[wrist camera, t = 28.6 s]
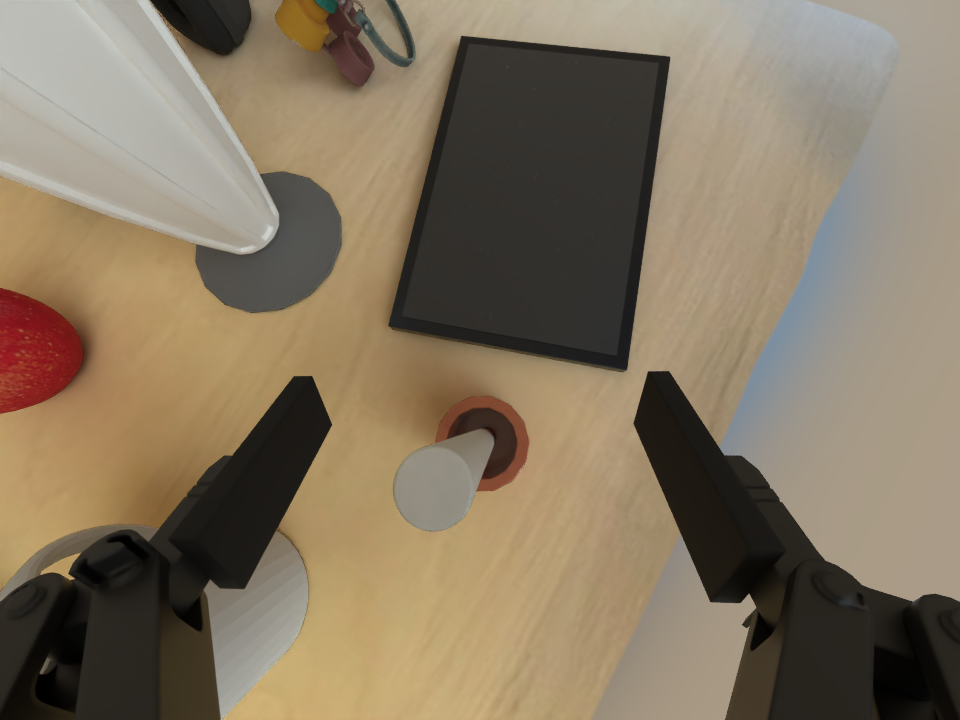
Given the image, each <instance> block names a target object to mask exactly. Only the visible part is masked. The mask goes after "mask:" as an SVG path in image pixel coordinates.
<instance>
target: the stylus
mask: <svg viewBox="0 0 960 720" xmlns="http://www.w3.org/2000/svg"><path fill="white" fill-rule="evenodd" d="M494 444H495V436H494V434H493V433H492V431H490V430H489V429H486V428H481V429H478V430H474V431H471V432H468V433H465V434H462V435H459V436H456V437H453V438H450V439H447V440H444V441H441V442H438V443H435V444H431V445H428V446H425V447H422V448H420V449H417V450H415V451H414V452H412V453H411V454H409V455H408V456H407V457H406V458H405V459H404V460H403V462H402V463H401V464H400V466H399V468H398V470H397V472H396V475H395V478H394V483H393V495H394V500H395V503H396V506H397V508H398V510H399V512H400V514H401V515H402V516H403V517H404V519H405V520H406V521H407V522H409V523H410V524H411V525H413V526H414V527H416V528H418V529H421V530H425V531H442V530H445V529H448V528H450V527H452V526H454V525H455V524H457V523H458V522H459V521H460V520H461V519H462V518H463V517H464V516H465V515H466V513H467V512H468V510H469V508H470V506H471V503H472V501H473V498H474V496H475V493H476V490H477V488H478V485H479V483H480V480H481V478H482V475H483V472H484V470H485V467H486V465H487V462H488V459H489V457H490V454H491V452H492V449H493V446H494Z"/></svg>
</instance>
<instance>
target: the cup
mask: <svg viewBox="0 0 960 720" xmlns="http://www.w3.org/2000/svg"><path fill="white" fill-rule="evenodd" d="M0 176H1V177H3V178H6V179H9V180H12V181H14V182H17V183H20V184H22V185H25V186H28V187H31V188H33V189H36V190H39V191H41V192H44V193H47V194H50V195H52V196H55V197H58V198H60V199H63V200H66V201H69V202H71V203H74V204H77V205H79V206H82V207H85V208H88V209H90V210H93V211H96V212H98V213H101V214H104V215H107V216H110V217H113V218H116V219H119V220H122V221H125V222H128V223H131V224H134V225H137V226H141V227H144V228H147V229H150V230H153V231H156V232H159V233H162V234H165V235H168V236H171V237H174V238H177V239H181V240H184V241H187V242H190V243H193V244H196V264H197V267H198V269H199V272H200V274H201V277H202V280H203V282H204V285H205V287H206V288H207V289H208V290H209V291H211V292H212V293H213V294H214V295H215V296H216V297H217V298H218V299H219V300H220V301H221V302H223V303H224V304H225V305H228V306H231V307H234V308H238V309H241V310H244V311H247V312H251V313H255V312H264V311H273V310H282V309H284V308H286V307H288V306H290V305H292V304H294V303H295V302H297V301H299V300H301V299H303V298H305V297H307V296H309V295H310V294H311V293H312V292H313V291H314V290H315V289H316V288H317V287H318V286H319V285H320V283H321V282H322V281H323V280H324V279H325V278H326V277H327V276H328V275H329V274H330V272H331V270H332V267H333V265H334V262H335V260H336V257H337V255H338V252H339V250H340V247H341V217H340V215H339V213H338V211H337V209H336V207H335V205H334V203H333V201H332V199H331V197H330V195H329V193H327V192H326V191H325V190H324V189H322V188H321V187H320V186H318V185H317V184H316V183H315V182H313V181H312V180H311V179H310V178H307V177H303V176H299V175H295V174H291V173H287V172H275V173H267V174H259V172H258V170H257V169H256V167H255V165H254V163H253V161H252V159H251V157H250V156H249V154H248V152H247V151H246V149H245V147H244V146H243V144H242V142H241V141H240V139H239V138H238V136H237V134H236V133H235V131H234V129H233V128H232V126H231V125H230V123H229V121H228V120H227V118H226V116H225V115H224V113H223V111H222V110H221V108H220V107H219V105H218V103H217V102H216V100H215V98H214V97H213V95H212V94H211V92H210V90H209V89H208V87H207V85H206V84H205V82H204V81H203V79H202V78H201V77H200V75H199V74H198V72H197V71H196V69H195V68H194V66H193V65H192V63H191V62H190V60H189V59H188V57H187V56H186V54H185V53H184V51H183V50H182V48H181V47H180V45H179V44H178V42H177V41H176V39H175V38H174V36H173V35H172V33H171V32H170V30H169V29H168V27H167V26H166V24H165V23H164V21H163V20H162V18H161V17H160V15H159V14H158V12H157V11H156V9H155V8H154V6H153V5H152V3H151V2H150V0H0Z"/></svg>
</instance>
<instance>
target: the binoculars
mask: <svg viewBox="0 0 960 720" xmlns="http://www.w3.org/2000/svg"><path fill="white" fill-rule="evenodd" d="M353 2H355V3H357V4H358V5H359V6H360V7H361V8H362V10H361V9H359V10H358V12H356V10H355V9H354V7H353ZM386 2H387V4H388V5H389V7H390V9H391V10H392V12H393V14H394V16H395V18H396V20H397V22H398V24H399V26H400V29H401V31H402V33H403V36H404V39H405V41H406V45H407V49H408V58H404V57H402V56H400V55H398V54H397V53H395V52H394V51H392V50H391V49H390V48H389V47H388V46H387V45H386V44H385V42H384V41H383V40H382V39H381V37H380V36H379V34H378V33H377V31H376V30H375V28H374V26H373V25H372V23H371V22H370V20H369V19H368V17H367V16H366V14H365V8H364V7H363V5H362V4H361V3H360V2H359V1H357V0H284V1H283V2H282V4H281V6H280V7H279V9H278V11H277V12H276V14H275V19H276V22H277V24H278V26H279V27H280V29H281V30H282V31H283V32H284V33H285V35H286V36H287V37H289V38H290V39H291V40H292V41H293V42H294V43H296V44H297V45H299V46H301V47H302V48H304V49H306V50H309V51H313V52H318V51H320V50H321V48H323V49H324V50H325V51H327V52H328V53H329V54H330V55H331V56H332V58H333V59H334V61H335V63H336V64H337V66H338V67H339V69H340V70H341V71H342V72H343V74H344V75H345V76H346V77H347V78H348V79H349V80H350V81H351V82H353V83H354V84H356V85H357V86H363V85H364V83H365V82H366V80H367V79H368V77H369V76H370V74H371V73H372V71H373V70H374V63H373V60H372V58H371V56H370V55H369V53H368V51H367V50H366V48H365V47H364V46H363V44H362V43H361V42H360V41H359V40H358V39H357V36H358V34H359V33H360V31H361V29H363V30H364V32H365V34H366V35H368V37H369V38H370V40H371V41H372V43H373V44H374V45H375V47H376V48H377V49H378V50H379V52H380V53H381V54H382V55H383V56H384V57H385V58H386V59H388V60H389V61H390V62H392V63H394V64H395V65H398V66H400V67H408V66H409V65H410V64H411V63H412V61H413V60H414V59H415V46H414V42H413V38H412V35H411V32H410V30H409V27H408V25H407V23H406V20H405V18H404V16H403V14H402V12H401V10H400V8H399V6H398V4H397V3H396V1H395V0H386ZM328 26H329V27H328ZM329 28H330V29H331V30H332V32H333V33H334V34H335V35H336V36H337V38H336V39H335V40H334V41H332V42H331V43H330V44H329V47H328V46H327V45H326V44H325V43H324V42H325V40H326V38H327V36H328V34H329Z"/></svg>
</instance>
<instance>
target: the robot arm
mask: <svg viewBox="0 0 960 720" xmlns="http://www.w3.org/2000/svg"><path fill="white" fill-rule="evenodd" d="M331 426H332V423H331V421H330V418H329V416H328V413H327V411H326V408H325V406H324V404H323V401H322V399H321V396H320V394H319V391H318V389H317V386H316V384H315V382H314V379H313V377H312V376H294V377H293V378H292V379H291V381H290V382H289V383H288V385H287V386H286V387H285V388H284V390H283V391H282V392H281V394H280V395H279V396H278V398H277V399H276V400H275V401H274V403H273V404H272V405H271V407H270V408H269V409H268V410H267V412H266V413H265V414H264V416H263V417H262V418H261V419H260V421H259V422H258V423H257V425H256V426H255V427H254V428H253V430H252V431H251V432H250V434H249V435H248V436H247V438H246V439H245V440H244V441H243V443H242V444H241V445H240V447H239V448H238V449H237V450H236V452H235V453H234V454H233V456H223V457H222V458H221V459H220V460H218V461H217V462H216V463H214V464H213V465H212V466H211V467H209V468H208V469H207V471H206V472H205V473H204V474H203V476H202V477H201V478H200V479H199V480H198V482H197V485H194V487H193V488H192V489H191V490H190V491H189V493H188V494H187V497H185V498H184V499H183V500H182V501H181V503H180V504H179V505H178V506H177V507H176V509H175V510H174V511H173V512H172V514H171V515H170V516H169V517H168V518H167V520H166V521H165V522H164V523H163V525H162V526H161V527H160V528H159V530H158V531H157V532H156V533H155V534H154V536H153V537H152V538H151V539H150V541H149V542H148V541H147V540H146V539H144V538H143V537H142V536H141V535H140V534H139V533H138V532H136V531H134V530H131V529H126V530H119V531H116V532H113V533H111V534H108V535H106V536H104V537H103V538H101V539H99V540H98V541H96V542H94V543H93V544H92V545H91V546H89V547H88V548H87V549H86V550H85V551H83V552H82V553H81V554H80V556H79V557H78V558H77V559H76V560H75V562H74V563H73V564H72V567H71V569H70V571H69V573H68V574H69V575H71V576H72V577H74V578H76V579H74V580H69V579H67V578H65V577H64V576H62V575H61V574H58V573H53V572H52V573H47V574H43V575H39V576H37V577H35V578H33V579H31V580H29V581H26V582H25V583H23V584H22V585H20V586H19V587H17V588H16V589H14V590H13V591H12V592H10V593H9V594H8V595H7V596H6V597H5V598H4V599H3V600H1V601H0V720H221V716H220V707H219V698H218V689H217V680H216V671H215V662H214V653H213V643H212V634H211V625H210V616H209V607H208V598H207V595H206V593H205V591H204V589H205V587H206V585H207V584H208V582H209V580H211V581H212V582H213V583H214V584H215V585H217V586H218V587H219V588H220V589H245V588H246V586H247V584H248V582H249V580H250V578H251V577H252V575H253V573H254V571H255V569H256V567H257V565H258V563H259V562H260V560H261V558H262V556H263V554H264V552H265V550H266V548H267V547H268V545H269V543H270V541H271V539H272V537H273V535H274V533H275V532H276V530H277V528H278V526H279V524H280V522H281V520H282V518H283V516H284V515H285V513H286V511H287V509H288V507H289V505H290V503H291V501H292V500H293V498H294V496H295V494H296V492H297V490H298V488H299V486H300V485H301V483H302V481H303V479H304V477H305V475H306V473H307V471H308V469H309V468H310V466H311V464H312V462H313V460H314V458H315V456H316V454H317V453H318V451H319V449H320V447H321V445H322V443H323V441H324V439H325V438H326V436H327V434H328V432H329V430H330V428H331ZM634 426H635V428H636V430H637V433H638V435H639V437H640V440H641V442H642V444H643V447H644V449H645V451H646V454H647V456H648V458H649V461H650V463H651V465H652V468H653V470H654V472H655V475H656V477H657V479H658V482H659V484H660V486H661V488H662V491H663V493H664V495H665V498H666V500H667V502H668V505H669V507H670V509H671V512H672V514H673V516H674V519H675V521H676V523H677V526H678V528H679V530H680V533H681V535H682V537H683V540H684V542H685V544H686V546H687V549H688V551H689V553H690V556H691V558H692V560H693V563H694V565H695V567H696V570H697V572H698V574H699V576H700V579H701V581H702V584H703V586H704V588H705V591H706V593H707V595H708V597H709V600H710V602H720V603H721V602H722V603H741V602H742V601H743V600H744V598H745V597H746V596H747V595H748V594H750V596H751V598H752V599H753V601H754V603H755V605H756V607H757V608H756V609H755V610H754V611H753V612H752V613H751V614H750V615H749V616H748V617H747V618H746V619H745V621H744V623H743V624H742V625H743V626H744V627H746V628H748V627H749V626H750V627H749V631H748V636H747V639H746V642H745V646H744V650H743V654H742V658H741V661H740V665H739V669H738V673H737V677H736V681H735V684H734V688H733V692H732V696H731V700H730V704H729V707H728V711H727V715H726V718H725V720H960V602H959V601H957V600H954V599H952V598H950V597H945V596H942V595H938V594H930V595H923V596H922V597H920V598H919V599H917V600H916V601H914V602H912V601H909V600H906V599H903V598H899V597H896V596H893V595H890V594H886V593H883V592H880V591H877V590H874V589H870V588H868V587H865V586H863V585H861V584H860V583H859V582H858V581H857V580H856V579H855V578H854V577H853V576H852V575H850V574H849V573H848V572H846V571H844V570H843V569H841V568H840V567H838V566H837V565H835V564H832V563H830V562H827V561H825V560H824V558H823V557H822V556H821V555H820V554H819V553H818V551H817V550H816V549H815V547H814V546H813V544H812V543H811V542H810V540H809V539H808V538H807V536H806V535H805V533H804V532H803V531H802V529H801V528H800V526H799V525H798V524H797V522H796V521H795V520H794V518H793V517H792V515H791V514H790V513H789V511H788V510H787V509H786V507H785V506H784V504H783V503H782V502H780V501H779V497H778V496H777V495H776V493H775V492H774V491H773V489H771V488H770V485H769V484H768V482H767V481H766V479H765V478H764V477H763V475H762V474H761V473H760V471H759V470H758V469H757V468H756V467H754V466H753V465H752V464H751V463H749V462H748V461H747V460H746V459H745V458H744V457H742V456H724V454H723V453H722V451H721V450H720V448H719V447H718V445H717V444H716V442H715V441H714V439H713V438H712V436H711V435H710V433H709V431H708V430H707V428H706V427H705V425H704V424H703V422H702V421H701V419H700V418H699V416H698V415H697V413H696V412H695V410H694V409H693V407H692V406H691V404H690V402H689V401H688V399H687V398H686V396H685V395H684V393H683V392H682V390H681V389H680V387H679V386H678V384H677V383H676V381H675V380H674V378H673V376H672V375H671V373H670V372H669V371H648V374H647V377H646V381H645V384H644V388H643V392H642V395H641V399H640V402H639V406H638V409H637V413H636V417H635V420H634ZM46 658H47V659H49V660H50V662H49V664H48V666H47V668H46V669H45V671H44V672H43V674H40V671H41V669H42V667H43V665H44V663H45V661H46Z"/></svg>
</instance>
